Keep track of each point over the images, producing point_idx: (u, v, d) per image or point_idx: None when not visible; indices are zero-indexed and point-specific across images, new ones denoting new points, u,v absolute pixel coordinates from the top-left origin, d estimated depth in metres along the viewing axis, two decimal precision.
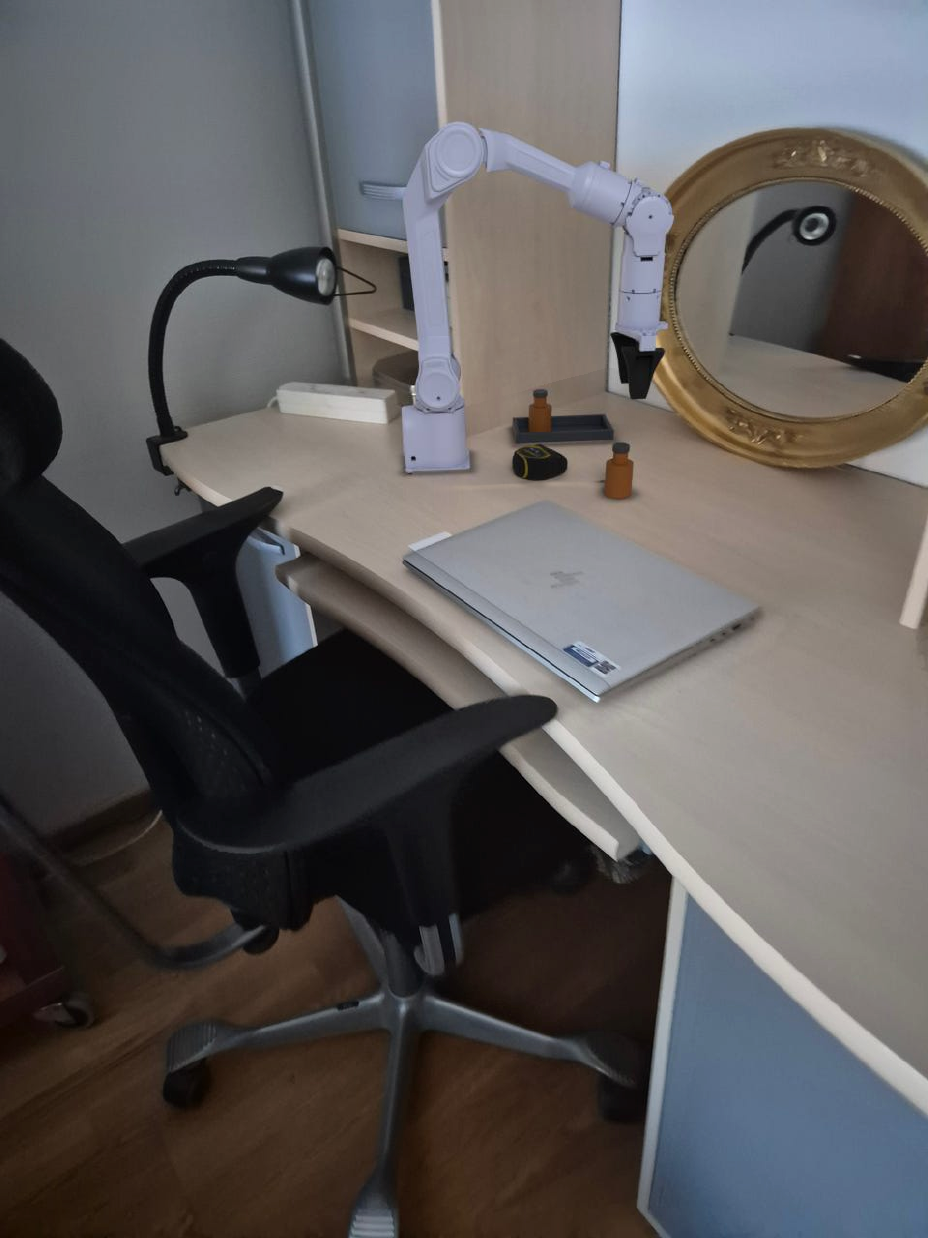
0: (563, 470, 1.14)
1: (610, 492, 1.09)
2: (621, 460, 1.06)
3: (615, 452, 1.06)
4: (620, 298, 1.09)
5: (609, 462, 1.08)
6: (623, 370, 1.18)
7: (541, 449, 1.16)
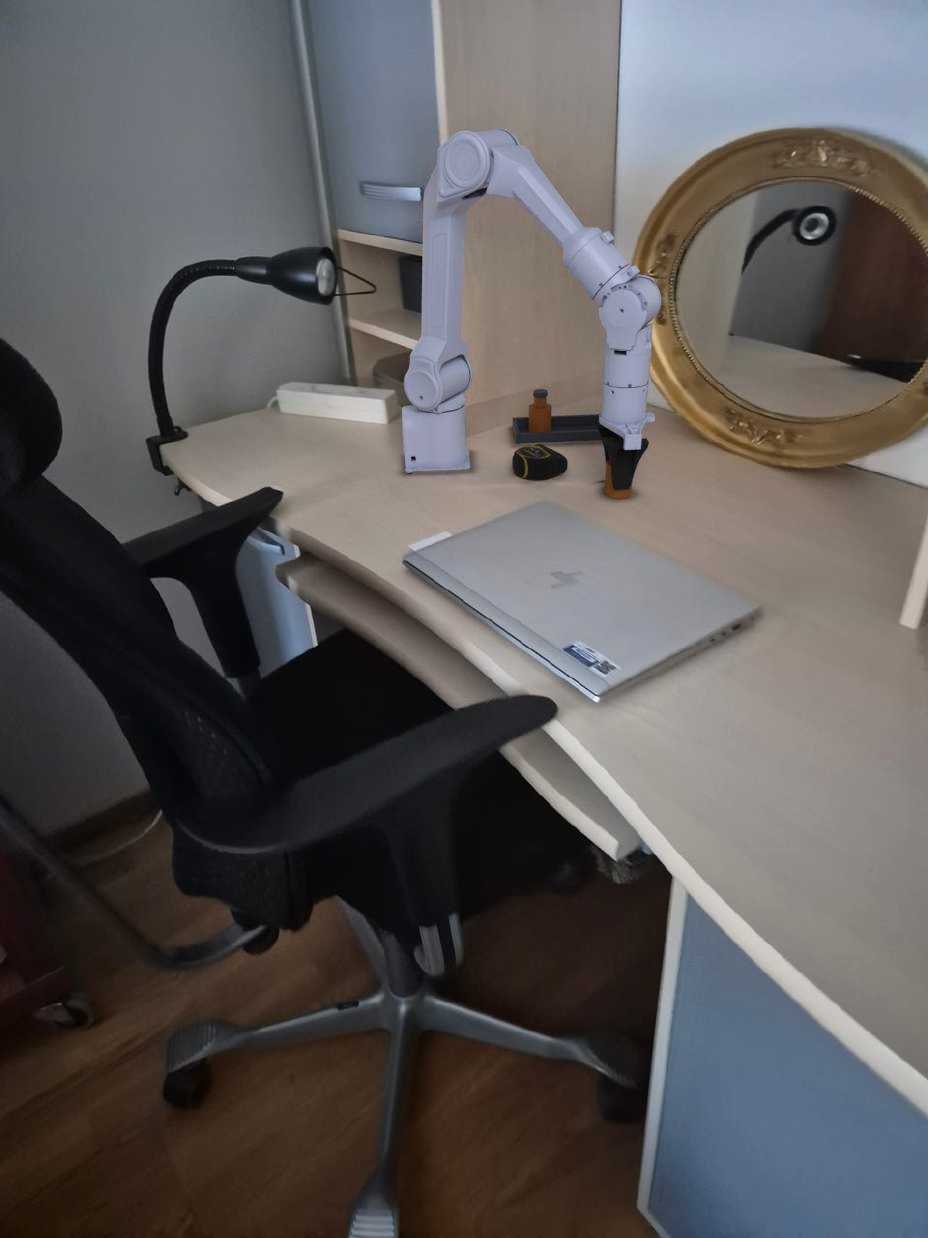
0: (563, 470, 1.14)
1: (610, 492, 1.09)
2: None
3: None
4: (604, 391, 1.02)
5: (609, 462, 1.08)
6: None
7: (541, 449, 1.16)
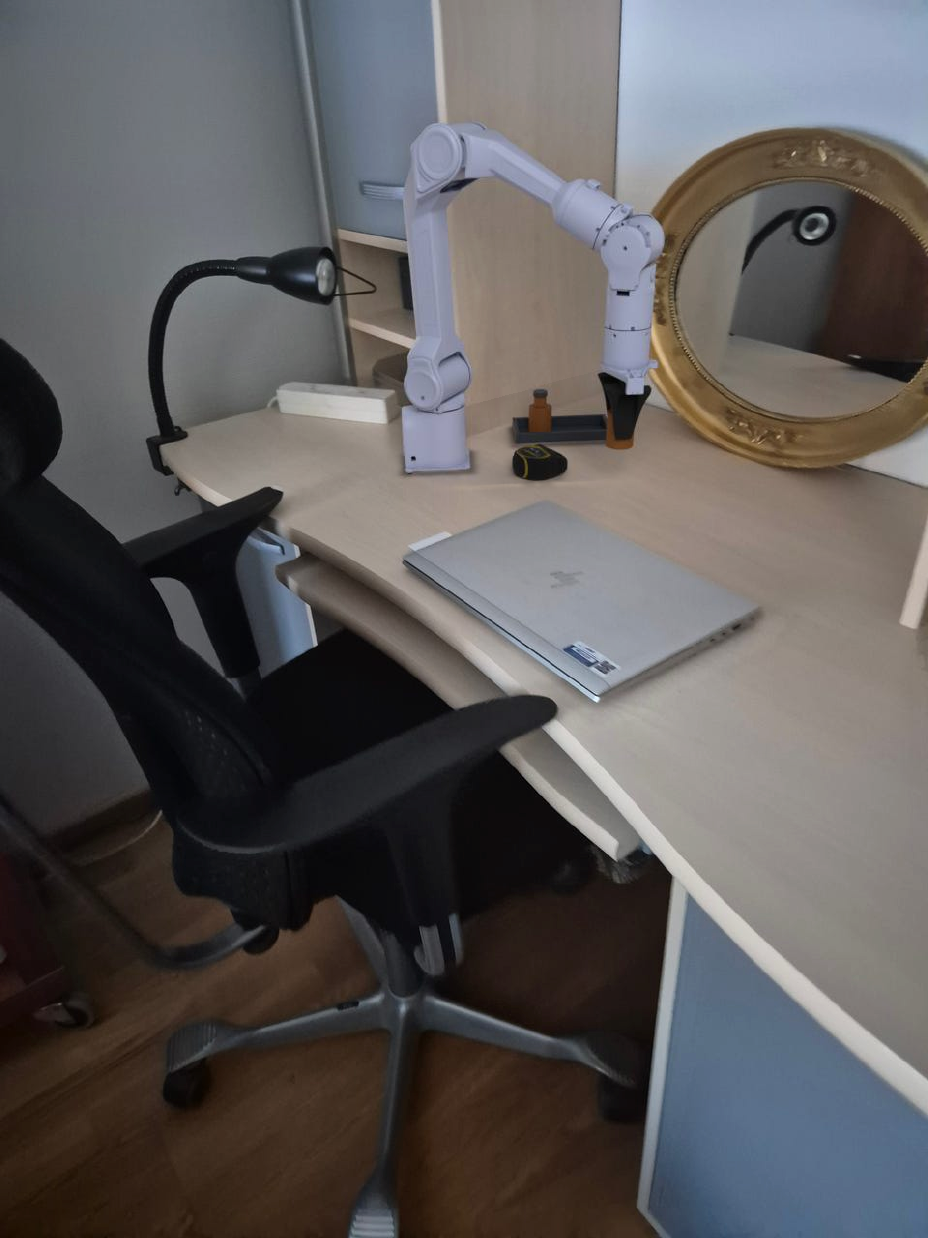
0: (563, 470, 1.14)
1: (611, 443, 1.06)
2: None
3: None
4: (605, 335, 0.99)
5: (610, 411, 1.05)
6: None
7: (541, 449, 1.16)
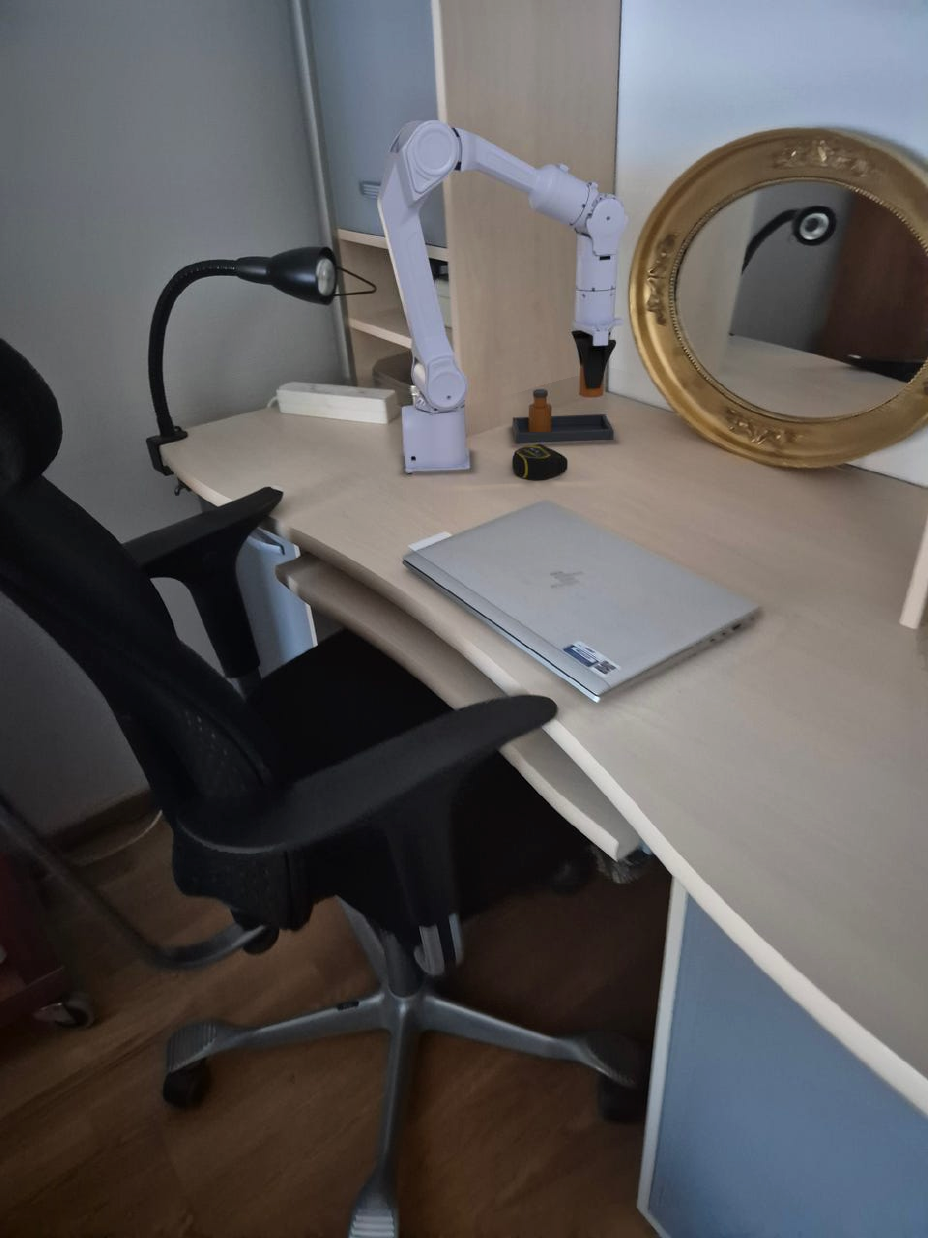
0: (563, 470, 1.14)
1: (584, 391, 1.21)
2: None
3: None
4: (576, 295, 1.15)
5: None
6: None
7: (541, 449, 1.16)
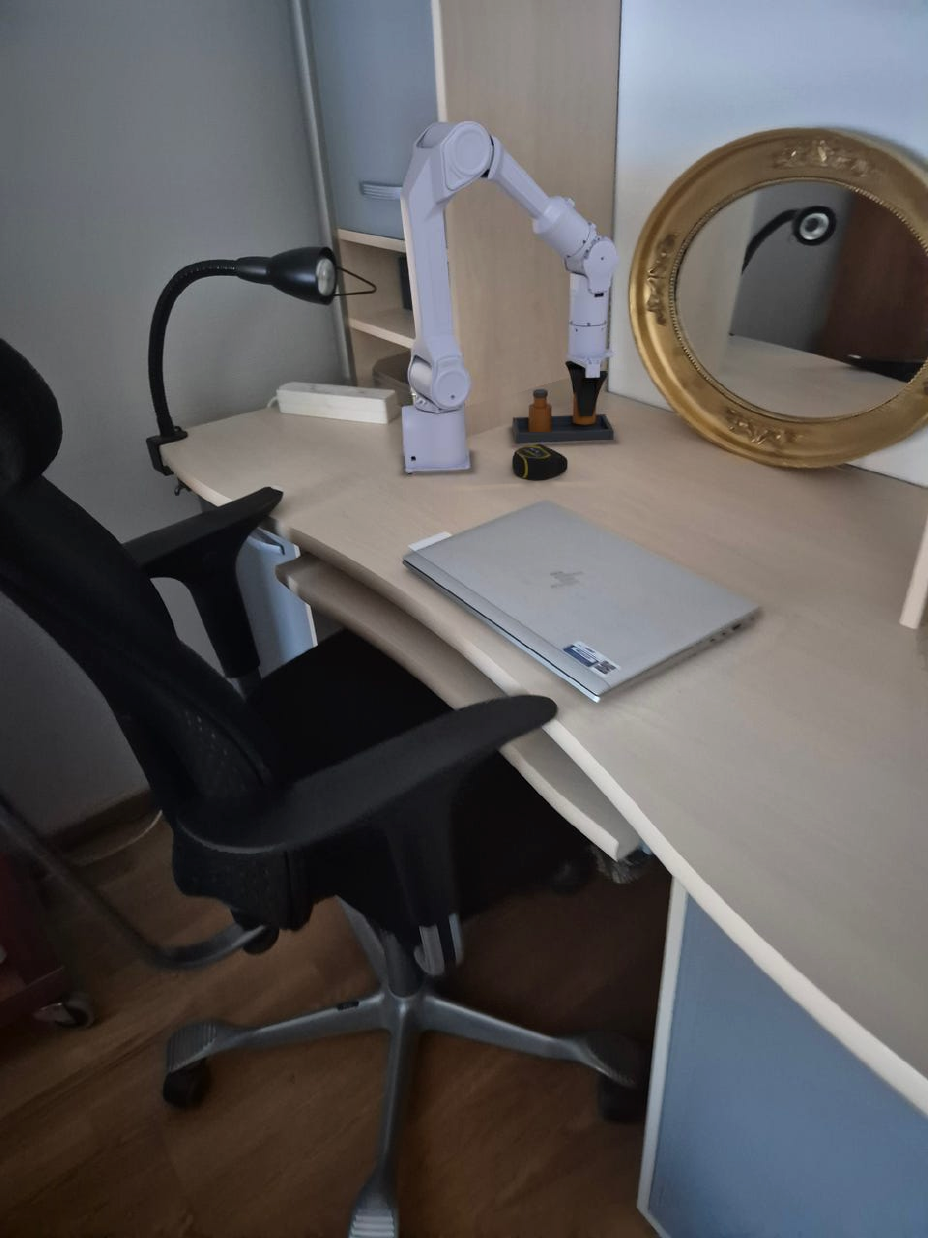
0: (563, 470, 1.14)
1: (577, 419, 1.28)
2: None
3: None
4: (569, 329, 1.21)
5: None
6: None
7: (541, 449, 1.16)
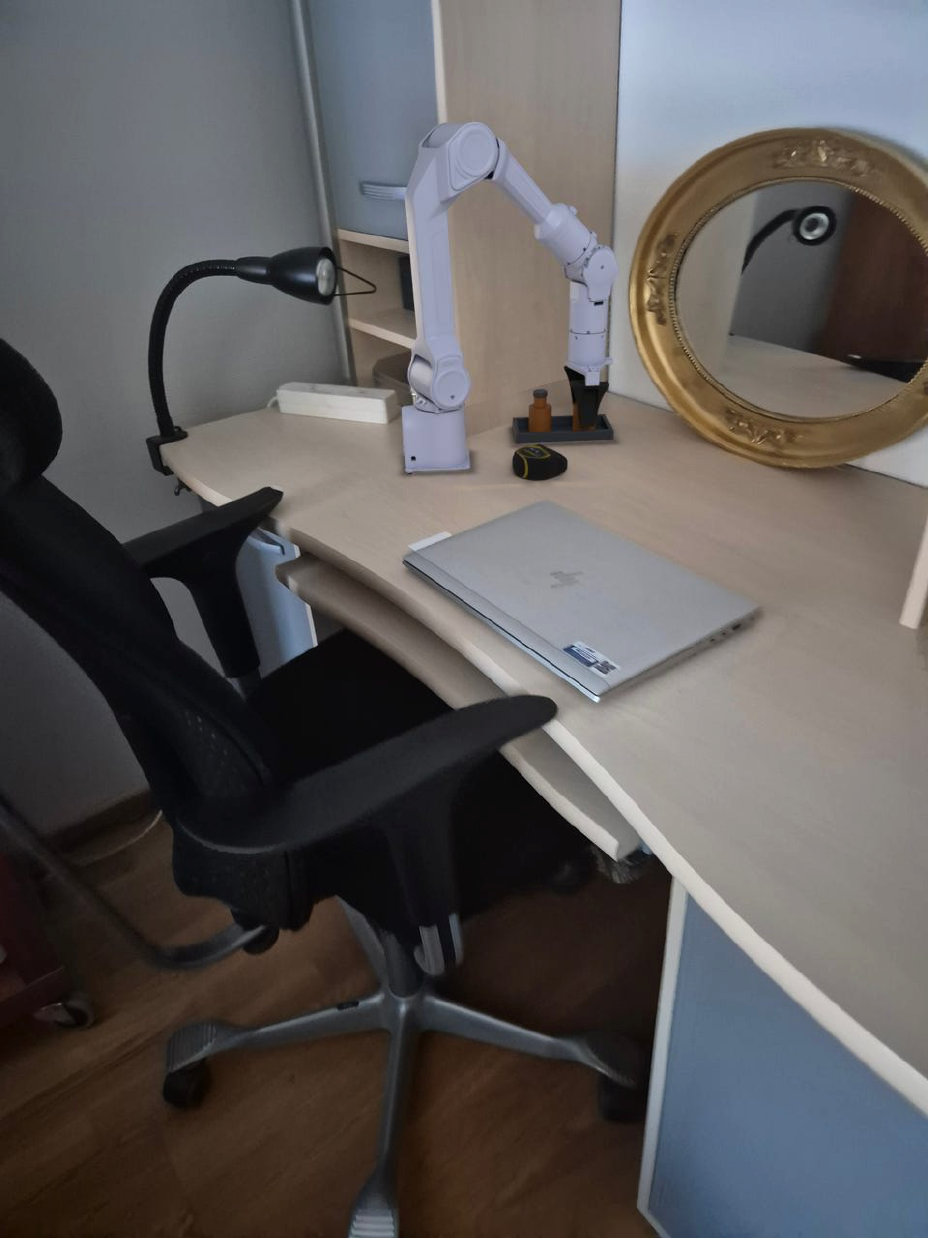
0: (563, 470, 1.14)
1: (577, 429, 1.29)
2: None
3: None
4: (569, 337, 1.22)
5: (576, 404, 1.28)
6: (576, 399, 1.31)
7: (541, 449, 1.16)
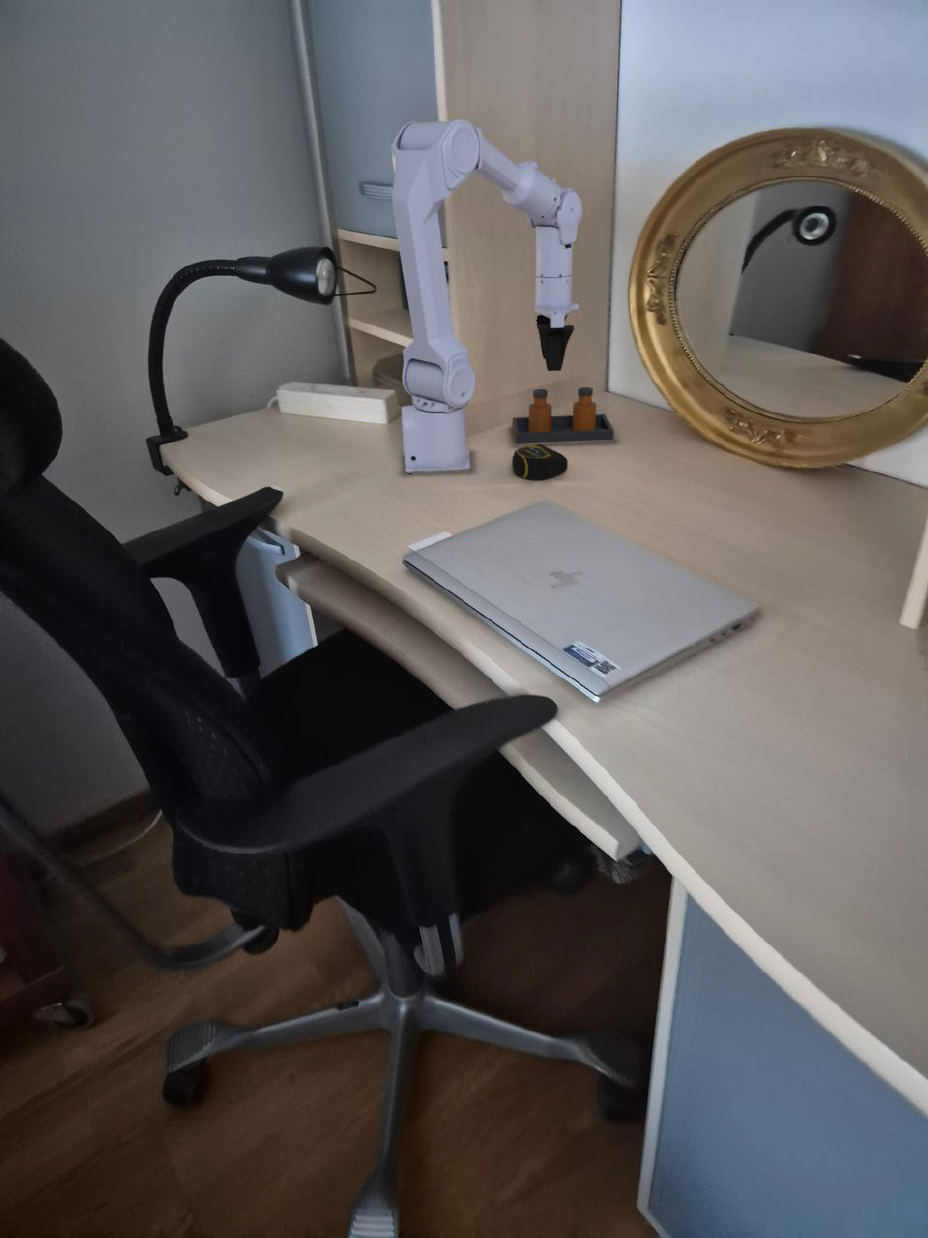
0: (563, 470, 1.14)
1: (577, 429, 1.29)
2: (585, 402, 1.27)
3: (580, 395, 1.26)
4: (536, 282, 1.25)
5: (576, 404, 1.28)
6: None
7: (541, 449, 1.16)
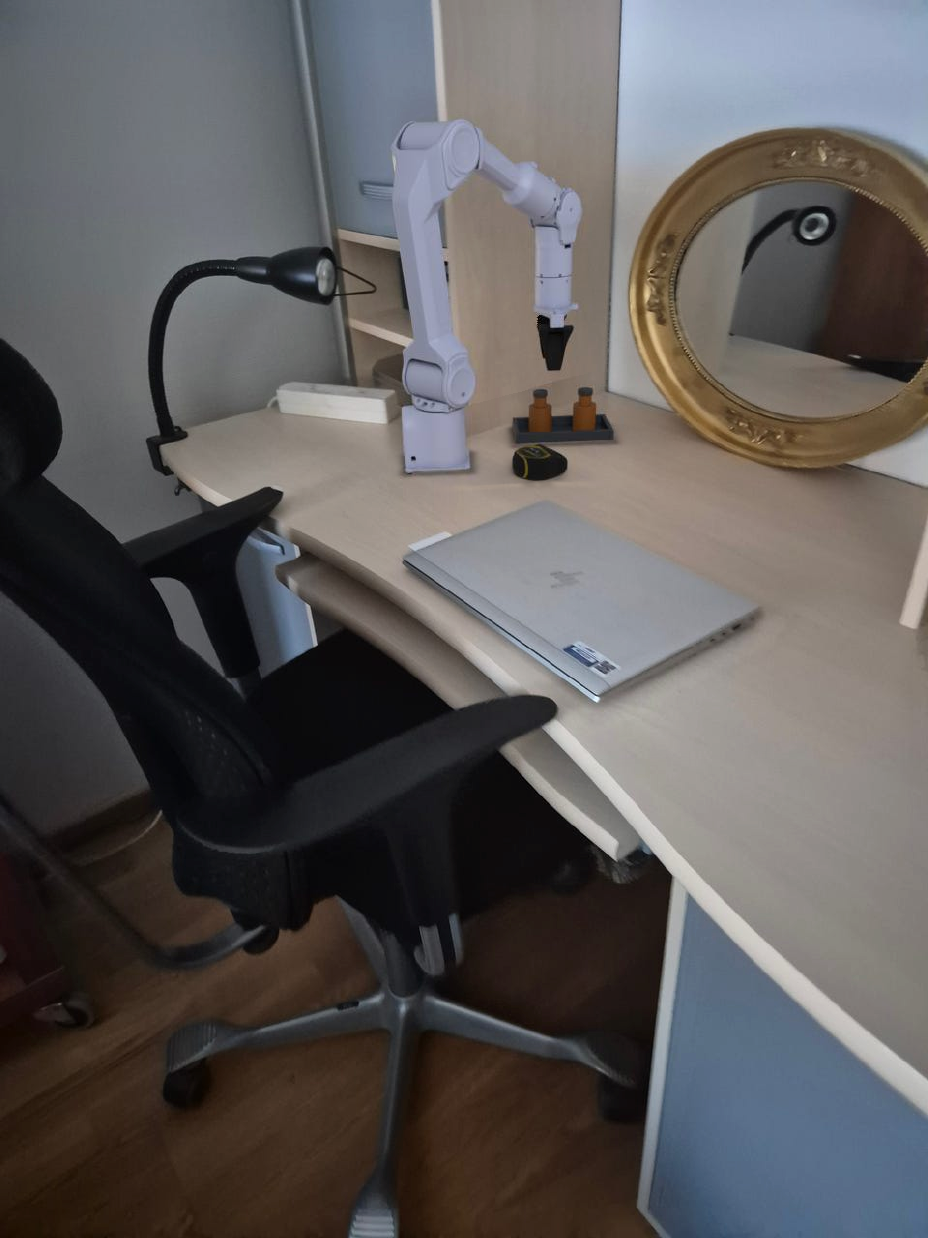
0: (563, 470, 1.14)
1: (577, 429, 1.29)
2: (585, 402, 1.27)
3: (580, 395, 1.26)
4: (535, 282, 1.25)
5: (576, 404, 1.28)
6: (544, 346, 1.34)
7: (541, 449, 1.16)
